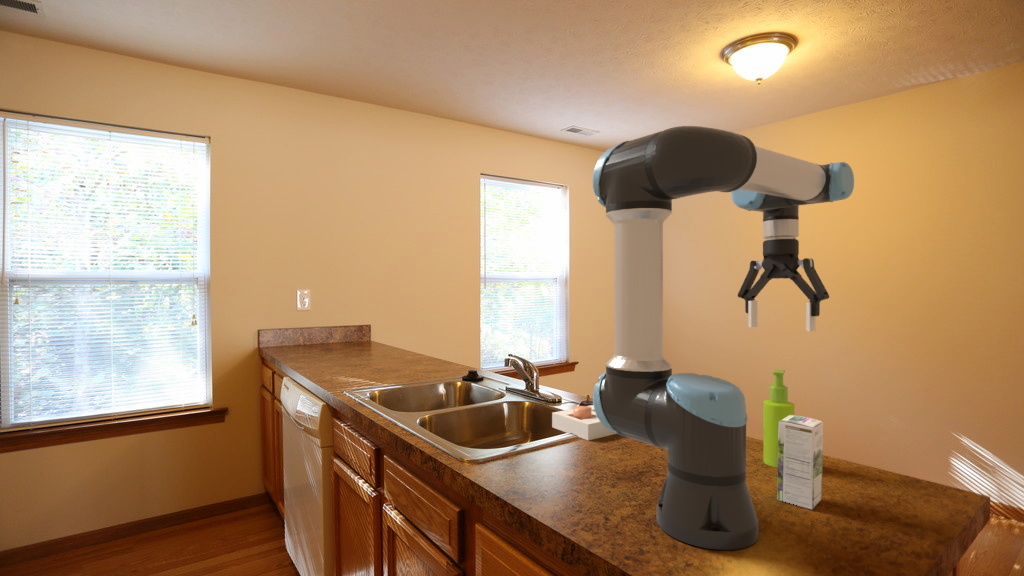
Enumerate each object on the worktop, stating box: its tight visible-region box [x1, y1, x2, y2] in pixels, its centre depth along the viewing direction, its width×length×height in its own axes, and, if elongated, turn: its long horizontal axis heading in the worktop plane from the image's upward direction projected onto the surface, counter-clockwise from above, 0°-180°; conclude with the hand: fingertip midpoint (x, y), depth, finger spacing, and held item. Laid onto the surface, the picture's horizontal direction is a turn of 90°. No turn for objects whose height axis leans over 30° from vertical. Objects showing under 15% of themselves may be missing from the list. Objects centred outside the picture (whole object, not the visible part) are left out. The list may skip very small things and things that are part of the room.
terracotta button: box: [572, 405, 591, 420], centre depth 132 cm, size 5×5×3 cm
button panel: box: [551, 404, 618, 441], centre depth 137 cm, size 26×14×4 cm, turn 125°
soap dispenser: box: [762, 368, 795, 469], centre depth 108 cm, size 6×7×20 cm
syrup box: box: [776, 414, 824, 510], centre depth 89 cm, size 6×6×14 cm
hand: (780, 329), depth 118 cm, fingers open, 13 cm apart
